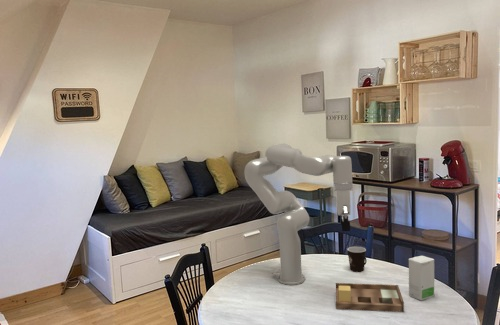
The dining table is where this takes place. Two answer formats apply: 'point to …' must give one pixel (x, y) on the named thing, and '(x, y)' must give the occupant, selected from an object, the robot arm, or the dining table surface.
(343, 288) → the ochre block
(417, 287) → the skincare box
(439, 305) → the dining table surface
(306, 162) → the robot arm
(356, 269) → the coffee mug
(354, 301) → the board
